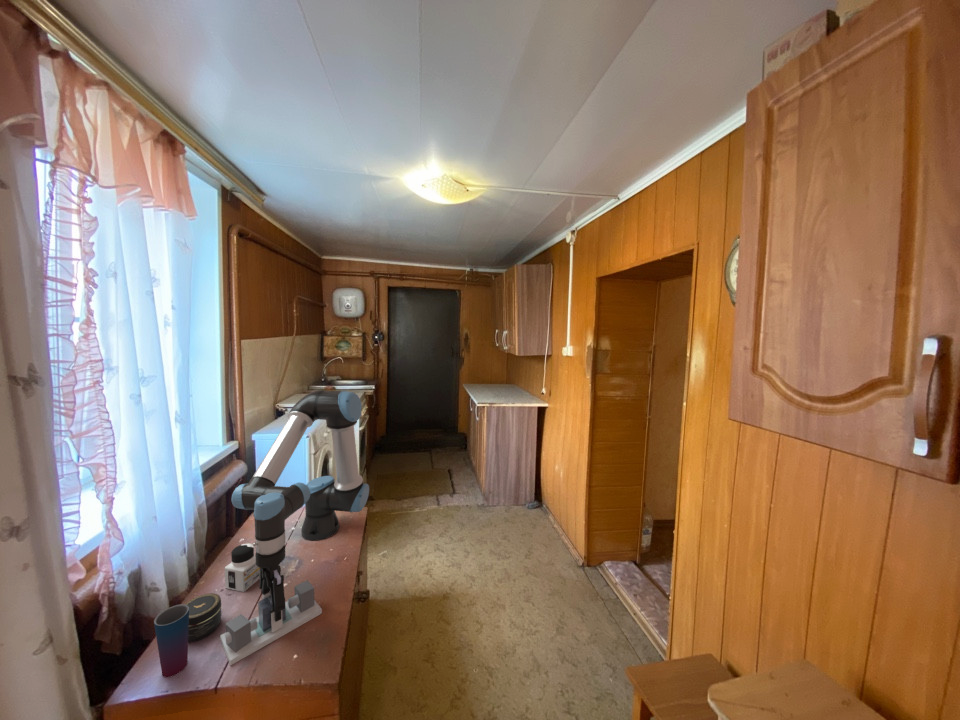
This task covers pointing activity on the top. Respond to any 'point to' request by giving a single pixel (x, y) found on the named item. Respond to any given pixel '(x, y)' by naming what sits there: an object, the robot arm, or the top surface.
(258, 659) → the top surface
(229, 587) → the container
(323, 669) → the top surface
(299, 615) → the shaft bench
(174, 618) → the cup
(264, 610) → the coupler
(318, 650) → the top surface
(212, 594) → the jar
